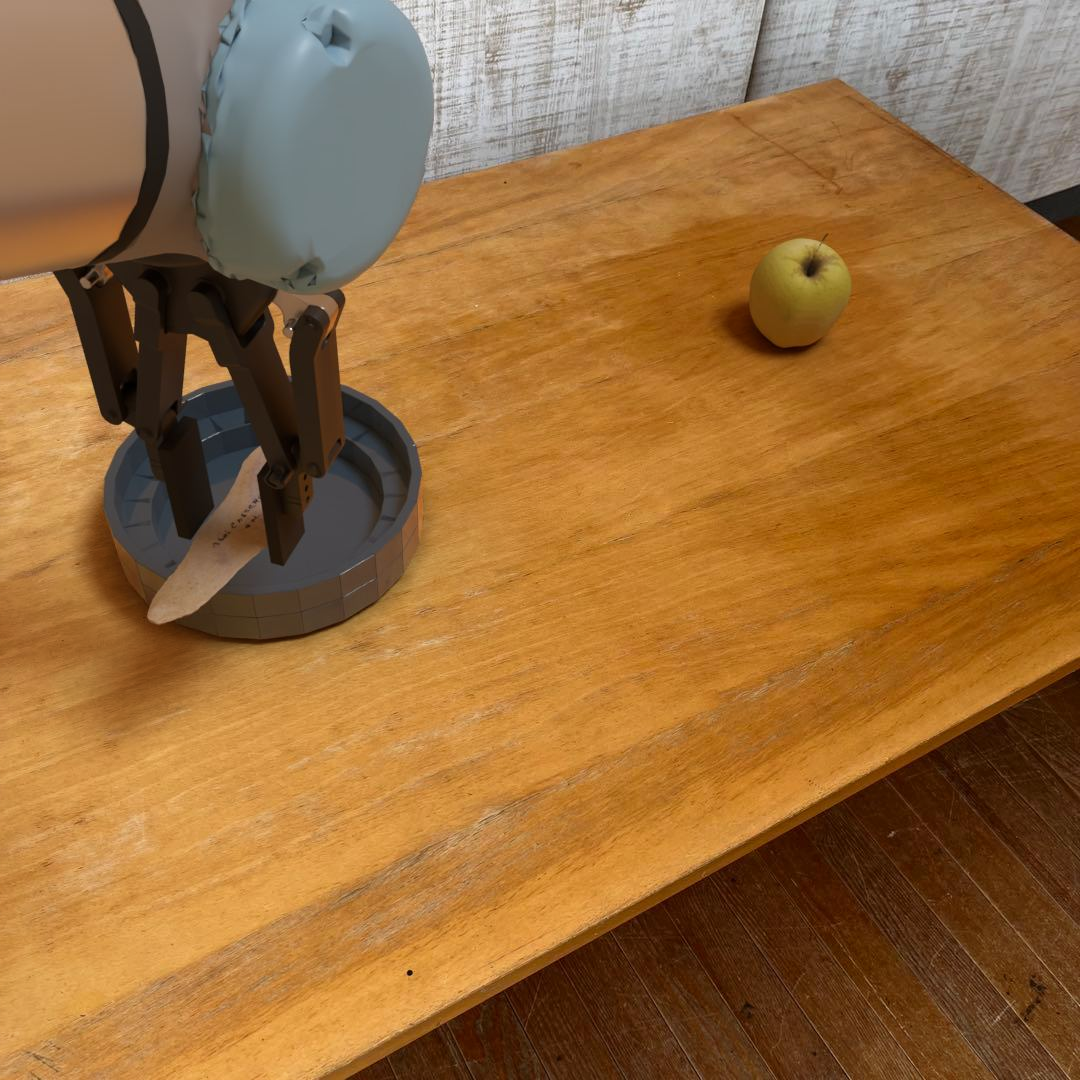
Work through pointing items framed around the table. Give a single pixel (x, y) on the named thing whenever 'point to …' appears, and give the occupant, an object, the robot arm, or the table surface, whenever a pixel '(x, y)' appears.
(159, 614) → the stone tool
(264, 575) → the bowl
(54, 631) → the table surface
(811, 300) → the apple
